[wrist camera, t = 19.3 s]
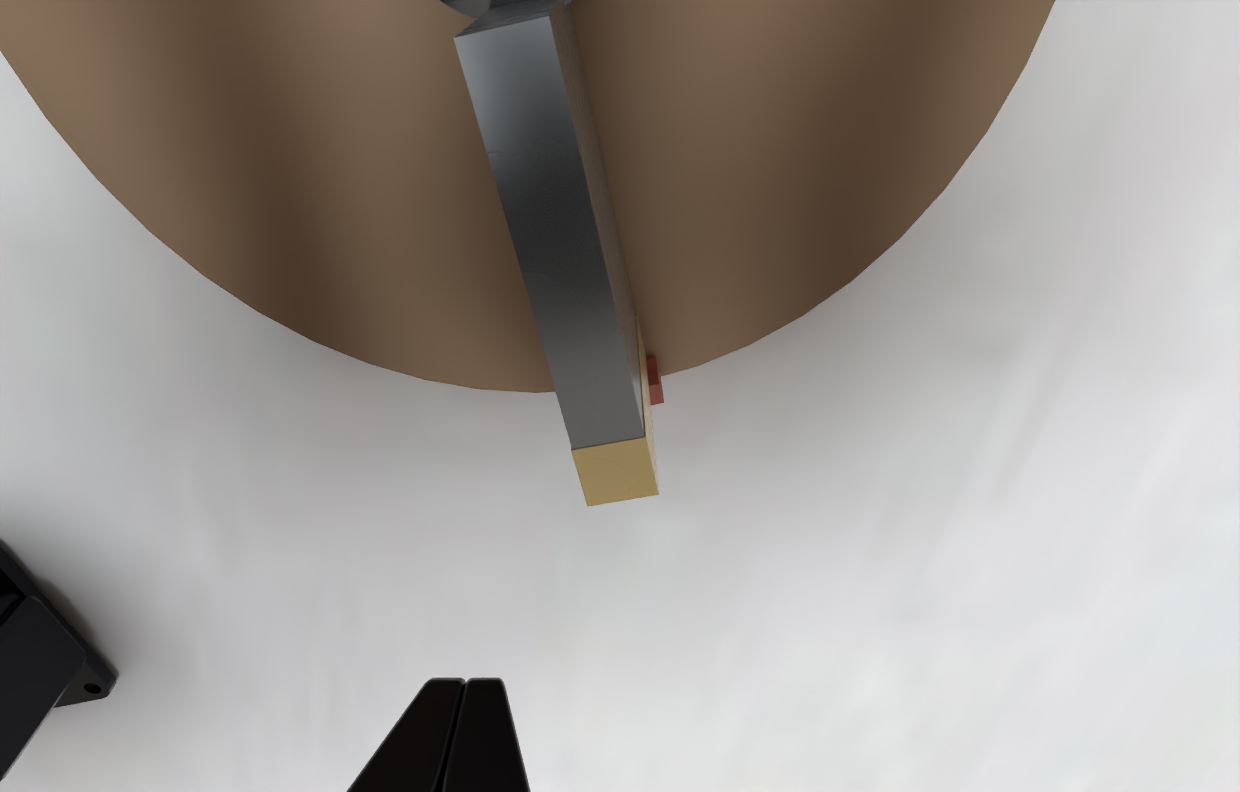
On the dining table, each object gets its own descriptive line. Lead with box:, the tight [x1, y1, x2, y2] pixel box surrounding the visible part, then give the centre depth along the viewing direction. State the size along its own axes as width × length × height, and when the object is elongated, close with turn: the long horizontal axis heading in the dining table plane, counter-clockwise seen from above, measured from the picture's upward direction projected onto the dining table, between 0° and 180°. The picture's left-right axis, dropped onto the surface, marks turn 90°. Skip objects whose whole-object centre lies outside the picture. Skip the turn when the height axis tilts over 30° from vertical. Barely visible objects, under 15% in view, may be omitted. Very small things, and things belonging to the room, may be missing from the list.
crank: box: [440, 0, 659, 506], centre depth 13 cm, size 11×4×5 cm, turn 12°
